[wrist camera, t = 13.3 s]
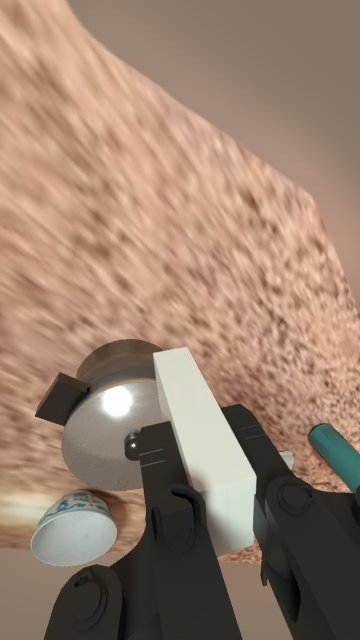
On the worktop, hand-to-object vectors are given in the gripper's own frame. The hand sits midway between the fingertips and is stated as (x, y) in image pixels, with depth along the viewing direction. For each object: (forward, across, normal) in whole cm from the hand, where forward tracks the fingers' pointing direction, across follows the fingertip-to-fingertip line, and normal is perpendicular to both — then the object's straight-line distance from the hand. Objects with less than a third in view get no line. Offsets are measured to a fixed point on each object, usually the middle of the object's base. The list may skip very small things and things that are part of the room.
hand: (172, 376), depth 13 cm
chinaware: (+35, -17, -50) cm, 63 cm away
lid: (+22, +1, -27) cm, 35 cm away
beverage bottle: (+35, +38, -47) cm, 70 cm away
